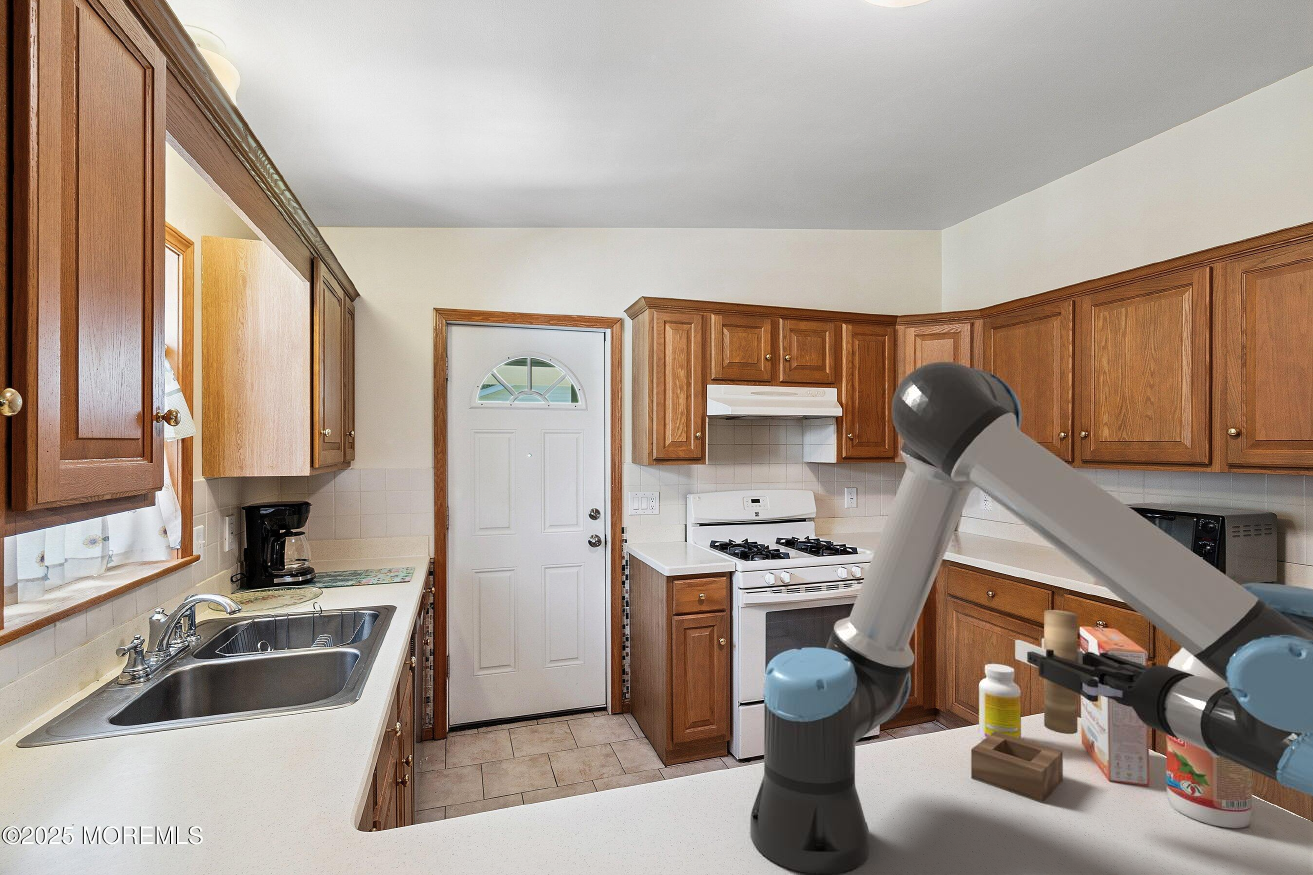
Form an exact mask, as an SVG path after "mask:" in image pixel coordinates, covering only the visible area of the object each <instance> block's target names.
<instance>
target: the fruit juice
mask: <svg viewBox="0 0 1313 875" xmlns="http://www.w3.org/2000/svg"><path fill="white" fill-rule="evenodd" d="M1167 666H1168V667H1171V668H1174V669H1177V670H1180V671H1183V672H1186V673H1189V674H1192V675H1194V676H1199V677H1204V678H1207V679H1210V680H1213V681H1216V682H1219V683H1222V684H1225V685H1228V683H1226V682H1225V681H1224V680H1223V679H1221V678H1220V677H1219V676H1218V675H1216V674H1215V673H1214V672H1212V671H1211V670H1210V669H1209V668H1207V667H1206V666H1205V665H1204V664H1203V663H1201V662H1200V661H1199V660H1198V659H1197V658H1196V657H1194V656H1193V655H1192V654H1191V653H1189V652H1188V651H1187V650H1185V649H1184V648H1183V647H1182V646H1181V648H1180V649H1179V651H1178V652H1176V653H1175V654H1174V655H1173V656H1172V657H1171V659H1169V661H1168V664H1167ZM1165 735H1166V736H1165V737H1166V738H1165V740H1166V743H1165V744H1166V746H1165V747H1166V750H1165V751H1166V754H1165V755H1166V760H1165V761H1166V763H1165V764H1166V797H1167V800H1168V803H1169V805H1170V806H1171V807H1172V808H1173V809H1175V810H1176V811H1178V812H1179V813H1181V814H1183V815H1184V816H1186V817H1188V818H1191V819H1193V820H1195V821H1199V822H1202V823H1204V824H1207V825H1211V826H1215V827H1221V828H1228V829H1241V828H1246V827H1248V826H1250V823H1251V821H1252V818H1253V817H1252V816H1253V815H1252V814H1253V794H1252V793H1253V790H1252V789H1253V785H1252V784H1253V783H1252V781H1253V779H1252V777H1253V776H1252V775H1253V774H1252V770H1250V769H1248V768H1245V767H1243V766H1241V765H1239V764H1237V763H1234V762H1232V761H1230V760H1228V759H1225V758H1222V757H1219V758H1214V757H1212V756H1210V755H1209V752H1208V751H1206V750H1204V749H1201V748H1199V747H1197V746H1194V745H1192V744H1190V743H1187V742H1185V741H1183V740H1181V739H1179V738H1175V737H1172V736H1170V735H1167V734H1165Z"/></svg>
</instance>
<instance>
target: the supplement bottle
mask: <svg viewBox="0 0 1313 875" xmlns="http://www.w3.org/2000/svg"><path fill="white" fill-rule="evenodd" d="M984 673H985V676H986V677H985V678H983V679H982V680H980V682H979V683H978V734H979V737H980V739H981V740H982V741H983V740H984V739H985V738H987V737H988V736H989V735H991V734H992V733H993V732H995V731H996V732H999V733H1003V734H1006V735H1010V736H1013V737H1016V738H1020V739H1022V703H1021V702H1022V701H1021V700H1022V698H1021V697H1022V696H1021V695H1022V693H1021V688H1020V687H1019V686H1020V685H1018V684H1017V683H1015V682H1014V679H1015V675H1016V674H1015V669H1014V668H1013V667H1011V666H1008V665H1004V664H998V663H989V664H985V665H984Z"/></svg>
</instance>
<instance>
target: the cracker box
mask: <svg viewBox="0 0 1313 875" xmlns="http://www.w3.org/2000/svg"><path fill="white" fill-rule="evenodd" d="M1079 650H1081V651H1083V653H1085V652H1093V653H1095V654H1097V655H1099V656H1100V653H1102V652H1105V653H1108V654H1111V655H1114V656H1117V657H1120V658H1123V659H1127V660H1130V661H1133V662H1136V663H1139V664H1142V665H1145V666H1148V667H1149V656H1148V655H1149V654H1148V651H1147V650H1145V649H1144V648H1142V647H1141V646H1140V645H1138V644H1137V643H1135V642H1134V641H1133V640H1131V639H1130V638H1129V637H1127V636H1126V635H1125V634H1123V633H1122V632H1120V631H1119V630H1118V629H1116V628H1109V627H1108V628H1107V627H1097V626H1080V627H1079ZM1080 715H1081V716H1080V717H1081V718H1080V719H1081V720H1080V722H1081V724H1080V725H1081V730H1080V732H1081V745H1082V746H1083V747H1084V749H1085V750H1086V752H1087V753H1088V754H1089V755H1090V757H1091V758H1092V760H1093V761H1094V762H1095V764H1096V765H1097V766H1098V768H1099V770H1100V771H1101V773H1102V774H1103V775H1104V776H1105V777H1106V780H1107V781H1108V782H1115V783H1123V784H1132V785H1139V786H1146V787H1150V785H1151V784H1150V743H1149V742H1150V737H1149V736H1150V735H1149V734H1150V733H1149V731H1150V730H1149V729H1150V727H1149V726H1147V725H1146V724H1144V723H1143V722H1142V721H1141V720H1140V718H1139V717H1138V716H1137V714H1136V712H1135V711H1134V709H1133V708H1132V707H1130V706H1125V705H1122V704H1119V703H1117V702H1116V701H1115V700H1113V699H1110V698H1107V697H1104V696H1101V695H1098V701H1097V702H1091V701H1089V700H1087V699H1086V698H1084V697H1083V696H1082V695H1080Z"/></svg>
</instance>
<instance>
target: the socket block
mask: <svg viewBox="0 0 1313 875" xmlns="http://www.w3.org/2000/svg"><path fill="white" fill-rule="evenodd" d="M970 749H971V750H970V751H971V752H970V753H971V754H970V758H971V759H970V760H971V762H970V766H971V767H970V769H971V770H970V772H971V774H970V778H971V779H973V780H976V781H978V782H981V783H984V784H987V785H989V786H993V787H995V788H999V789H1001V790H1004V791H1007V792H1010V793H1013V794H1015V795H1019V796H1021V797H1025V798H1026V799H1030V800H1033V801H1036V802H1039V803H1041V804H1043V803H1044V802H1045V800H1047V798H1048V797H1049V796H1050V795H1051V794H1052V793H1053V792H1054V791H1055V789H1056V788H1058V786H1059V785H1060V784H1061V783H1062V782H1063V780H1064V779H1063V778H1064V769H1063V768H1064V767H1063V766H1064V765H1063V764H1064V750H1061V749H1059V748H1058V749H1057V748H1054V747H1050V746H1047V745H1043V744H1040V743H1036V742H1034V741H1030V740H1027V739H1024V738H1021V739H1020V738H1016V737H1013V736H1010V735H1006V734H1003V733H999V732H996V731H995V732H993V733H992V734H991V735H989V736H988V737H987V738H985V739H984V740H983V739H982V740H981V741H980V742H979V743H977V744H976V745H975V746H973V747H972V748H970Z"/></svg>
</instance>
